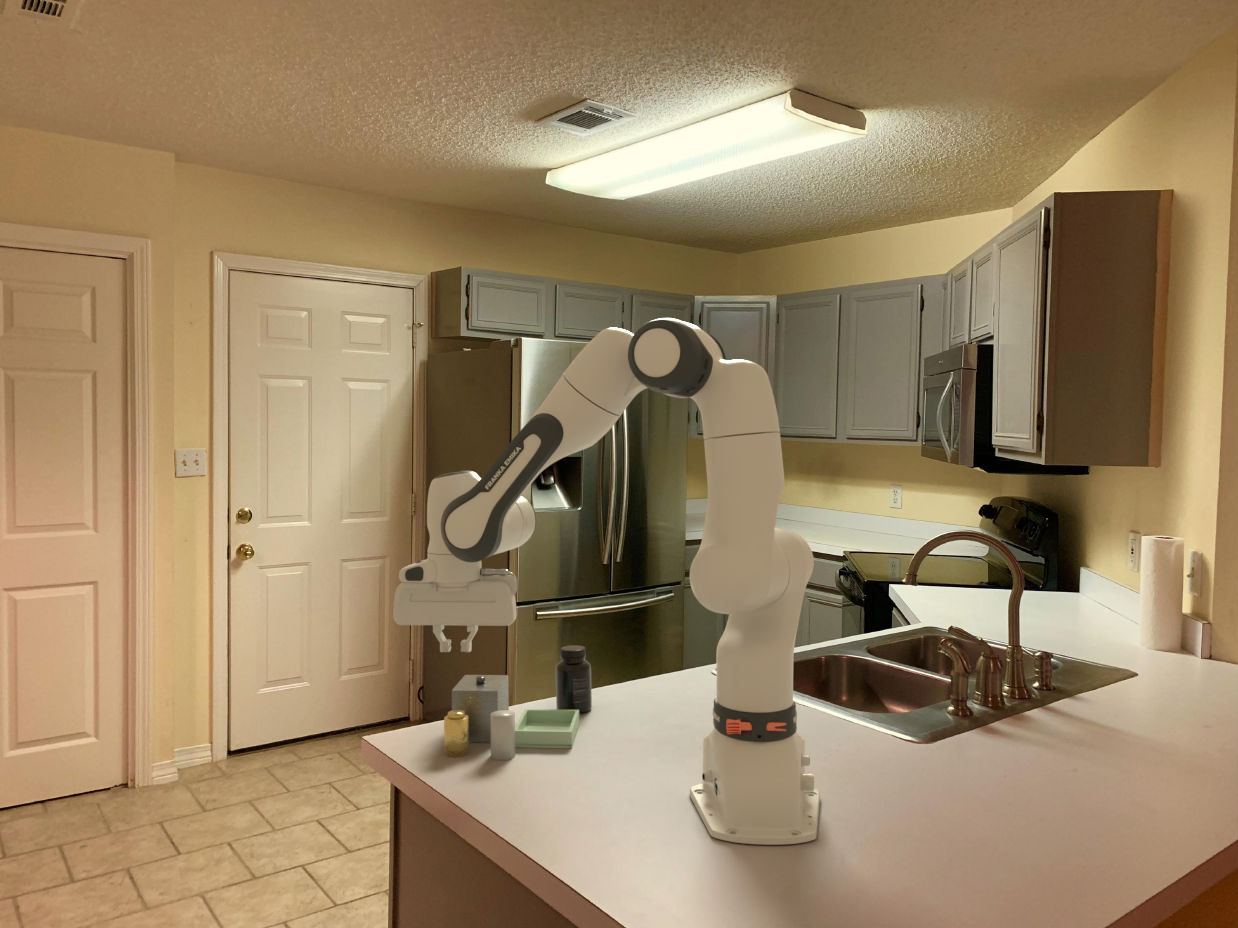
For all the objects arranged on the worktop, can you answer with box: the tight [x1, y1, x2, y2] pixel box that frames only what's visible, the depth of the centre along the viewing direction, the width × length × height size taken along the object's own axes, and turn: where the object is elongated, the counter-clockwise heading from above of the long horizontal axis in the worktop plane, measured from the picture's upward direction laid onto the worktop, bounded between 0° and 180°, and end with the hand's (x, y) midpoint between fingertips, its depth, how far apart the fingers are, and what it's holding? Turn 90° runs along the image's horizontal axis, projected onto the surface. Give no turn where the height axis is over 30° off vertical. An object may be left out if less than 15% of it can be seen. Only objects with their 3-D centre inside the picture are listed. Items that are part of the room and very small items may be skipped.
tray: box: [515, 708, 580, 749], centre depth 159 cm, size 12×10×3 cm
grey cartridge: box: [490, 710, 516, 761], centre depth 149 cm, size 4×4×7 cm
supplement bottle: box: [555, 644, 593, 715], centre depth 173 cm, size 7×7×12 cm
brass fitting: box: [443, 710, 470, 758], centre depth 150 cm, size 4×4×7 cm
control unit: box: [451, 674, 510, 744], centre depth 161 cm, size 10×8×10 cm
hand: (455, 651), depth 150 cm, fingers open, 2 cm apart
